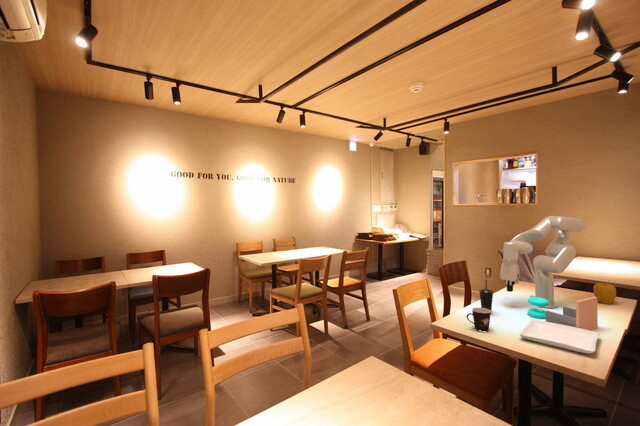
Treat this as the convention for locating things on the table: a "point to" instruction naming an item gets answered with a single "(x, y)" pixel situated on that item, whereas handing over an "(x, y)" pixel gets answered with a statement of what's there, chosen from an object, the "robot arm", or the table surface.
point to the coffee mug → (481, 318)
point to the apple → (604, 292)
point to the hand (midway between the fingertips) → (509, 291)
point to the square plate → (561, 336)
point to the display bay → (577, 315)
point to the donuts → (541, 303)
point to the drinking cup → (486, 297)
